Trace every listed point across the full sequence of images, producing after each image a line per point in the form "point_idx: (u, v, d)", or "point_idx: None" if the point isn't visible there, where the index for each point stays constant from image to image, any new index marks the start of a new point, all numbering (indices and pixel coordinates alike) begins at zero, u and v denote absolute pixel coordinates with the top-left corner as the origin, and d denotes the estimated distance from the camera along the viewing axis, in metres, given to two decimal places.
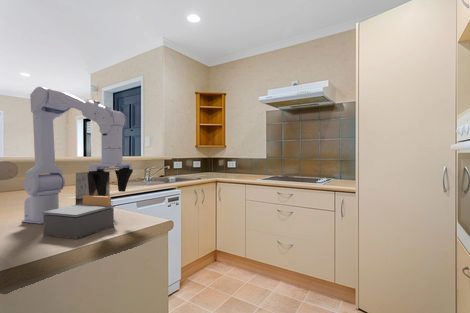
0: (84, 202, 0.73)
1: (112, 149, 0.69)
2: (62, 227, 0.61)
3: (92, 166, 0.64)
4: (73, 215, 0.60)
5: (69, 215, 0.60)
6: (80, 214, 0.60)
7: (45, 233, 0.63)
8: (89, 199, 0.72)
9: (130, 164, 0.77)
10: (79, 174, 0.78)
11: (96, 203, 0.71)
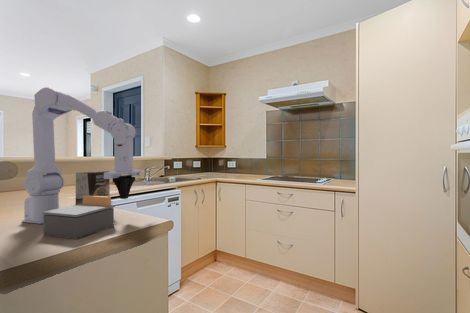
0: (84, 202, 0.73)
1: (124, 158, 0.75)
2: (62, 227, 0.61)
3: (107, 175, 0.71)
4: (73, 215, 0.60)
5: (69, 215, 0.60)
6: (80, 214, 0.60)
7: (45, 233, 0.63)
8: (89, 199, 0.72)
9: (139, 171, 0.84)
10: (79, 174, 0.78)
11: (96, 203, 0.71)
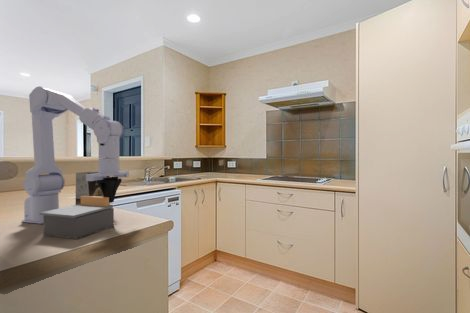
0: (82, 202, 0.72)
1: (109, 159, 0.70)
2: (62, 227, 0.61)
3: (90, 176, 0.65)
4: (70, 216, 0.59)
5: (66, 216, 0.59)
6: (77, 215, 0.60)
7: (45, 233, 0.63)
8: (87, 199, 0.72)
9: (127, 173, 0.78)
10: (79, 174, 0.78)
11: (94, 203, 0.71)
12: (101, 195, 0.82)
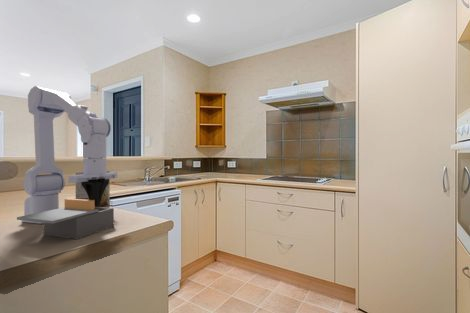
0: (66, 206, 0.67)
1: (94, 159, 0.65)
2: (62, 227, 0.61)
3: (72, 178, 0.60)
4: (49, 221, 0.54)
5: (45, 221, 0.54)
6: (57, 220, 0.55)
7: (45, 233, 0.63)
8: (71, 203, 0.67)
9: (115, 174, 0.73)
10: (79, 174, 0.78)
11: (78, 207, 0.66)
12: None
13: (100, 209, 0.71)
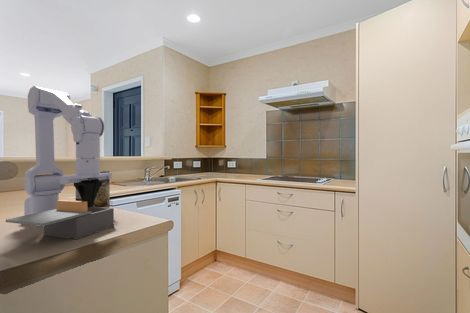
0: (58, 207, 0.65)
1: (87, 159, 0.63)
2: (62, 227, 0.61)
3: (64, 179, 0.58)
4: (39, 224, 0.52)
5: (34, 224, 0.52)
6: (47, 222, 0.53)
7: (45, 233, 0.63)
8: (63, 204, 0.65)
9: (109, 174, 0.71)
10: None
11: (71, 209, 0.64)
12: (101, 195, 0.82)
13: (100, 209, 0.71)
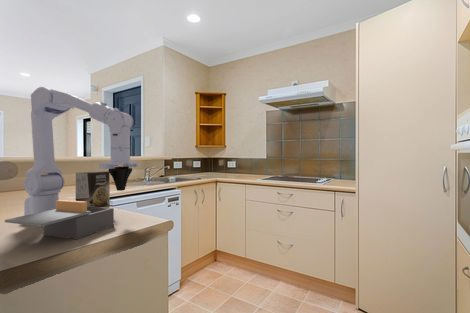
0: (57, 208, 0.65)
1: (121, 148, 0.73)
2: (62, 227, 0.61)
3: (103, 165, 0.68)
4: (38, 224, 0.52)
5: (34, 224, 0.52)
6: (46, 223, 0.53)
7: (45, 233, 0.63)
8: (63, 204, 0.64)
9: (137, 163, 0.81)
10: (79, 174, 0.78)
11: (70, 209, 0.64)
12: (101, 195, 0.82)
13: (100, 209, 0.71)
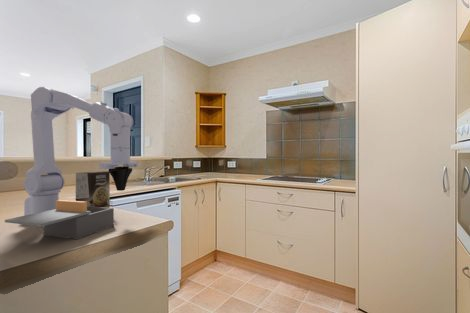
0: (57, 208, 0.65)
1: (121, 148, 0.73)
2: (62, 227, 0.61)
3: (103, 165, 0.68)
4: (38, 224, 0.52)
5: (34, 224, 0.52)
6: (46, 223, 0.53)
7: (45, 233, 0.63)
8: (63, 204, 0.64)
9: (137, 163, 0.81)
10: (79, 174, 0.78)
11: (70, 209, 0.64)
12: (101, 195, 0.82)
13: (100, 209, 0.71)
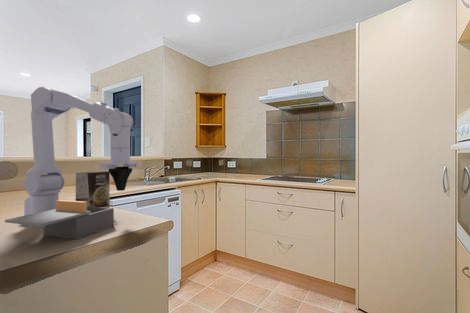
0: (57, 208, 0.65)
1: (121, 148, 0.73)
2: (62, 227, 0.61)
3: (103, 165, 0.68)
4: (38, 224, 0.52)
5: (34, 224, 0.52)
6: (46, 223, 0.53)
7: (45, 233, 0.63)
8: (63, 204, 0.64)
9: (137, 163, 0.81)
10: (79, 174, 0.78)
11: (70, 209, 0.64)
12: (101, 195, 0.82)
13: (100, 209, 0.71)
